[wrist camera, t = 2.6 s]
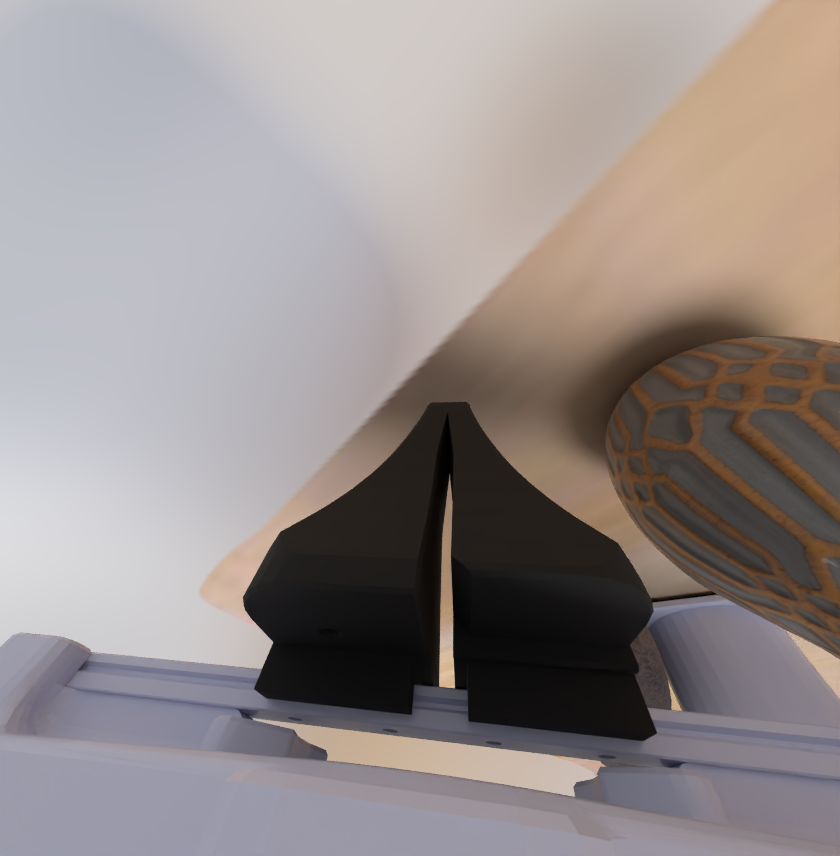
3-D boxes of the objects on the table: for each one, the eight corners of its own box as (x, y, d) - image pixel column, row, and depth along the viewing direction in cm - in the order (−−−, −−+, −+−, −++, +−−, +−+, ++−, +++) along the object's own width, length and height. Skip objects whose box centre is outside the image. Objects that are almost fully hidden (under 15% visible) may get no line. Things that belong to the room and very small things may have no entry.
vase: (552, 384, 12) (705, 652, 4) (782, 259, 9) (2341, 465, 1) (614, 488, 14) (769, 755, 7) (804, 421, 11) (1382, 761, 4)
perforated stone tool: (558, 562, 18) (603, 714, 13) (654, 559, 17) (750, 724, 12) (555, 654, 27) (581, 772, 21) (620, 656, 25) (666, 781, 20)
